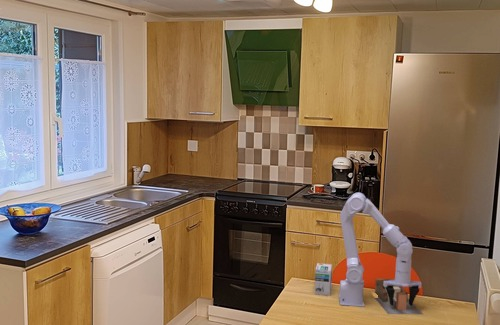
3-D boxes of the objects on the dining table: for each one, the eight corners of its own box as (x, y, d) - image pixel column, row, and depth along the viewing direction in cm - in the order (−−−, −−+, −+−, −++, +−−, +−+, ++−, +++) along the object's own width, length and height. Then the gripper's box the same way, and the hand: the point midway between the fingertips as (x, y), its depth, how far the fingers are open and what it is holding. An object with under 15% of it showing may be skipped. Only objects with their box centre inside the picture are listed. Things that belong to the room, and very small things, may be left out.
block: (395, 309, 210) (396, 294, 209) (384, 296, 225) (384, 282, 224) (408, 309, 210) (409, 294, 209) (395, 296, 225) (396, 282, 224)
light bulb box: (330, 296, 224) (331, 270, 223) (313, 294, 225) (315, 269, 224) (331, 288, 234) (332, 263, 233) (316, 286, 235) (317, 262, 234)
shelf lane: (387, 314, 205) (388, 298, 204) (369, 292, 230) (370, 278, 229) (423, 314, 206) (424, 299, 205) (402, 293, 231) (402, 278, 230)
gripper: (387, 273, 206) (385, 308, 207) (425, 274, 206) (422, 308, 208) (382, 268, 213) (380, 301, 214) (418, 268, 213) (416, 302, 215)
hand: (401, 304), depth 211 cm, fingers open, 7 cm apart
